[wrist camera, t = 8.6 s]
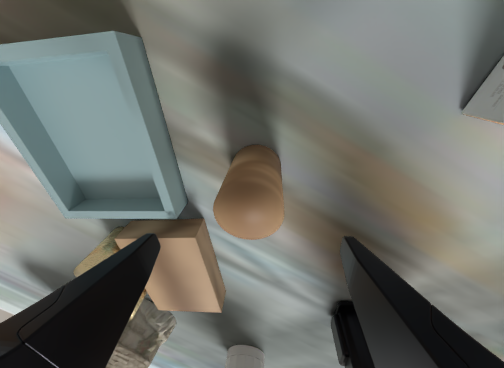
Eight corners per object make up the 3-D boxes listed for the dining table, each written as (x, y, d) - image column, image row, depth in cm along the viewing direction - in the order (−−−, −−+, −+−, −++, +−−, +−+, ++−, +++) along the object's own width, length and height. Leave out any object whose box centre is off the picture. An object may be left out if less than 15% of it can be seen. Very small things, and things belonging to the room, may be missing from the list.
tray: (141, 37, 12) (114, 30, 10) (188, 201, 19) (176, 218, 17) (0, 53, 14) (-50, 50, 12) (87, 202, 20) (65, 218, 18)
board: (205, 215, 20) (195, 237, 17) (226, 288, 26) (221, 312, 23) (133, 218, 21) (114, 238, 19) (169, 287, 27) (158, 310, 24)
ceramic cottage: (189, 329, 31) (118, 508, 18) (123, 338, 37) (33, 479, 24) (120, 262, 26) (-50, 447, 13) (56, 285, 32) (-108, 429, 19)
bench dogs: (134, 226, 21) (98, 267, 17) (159, 280, 26) (136, 322, 21) (108, 226, 21) (67, 265, 17) (138, 278, 26) (111, 320, 22)
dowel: (280, 143, 15) (284, 182, 10) (281, 188, 17) (284, 240, 12) (229, 145, 16) (207, 183, 10) (235, 189, 18) (218, 239, 12)
